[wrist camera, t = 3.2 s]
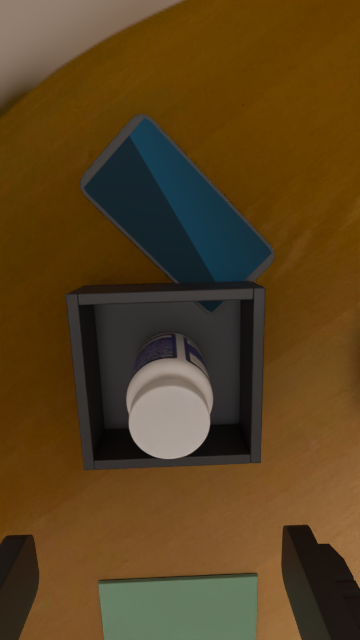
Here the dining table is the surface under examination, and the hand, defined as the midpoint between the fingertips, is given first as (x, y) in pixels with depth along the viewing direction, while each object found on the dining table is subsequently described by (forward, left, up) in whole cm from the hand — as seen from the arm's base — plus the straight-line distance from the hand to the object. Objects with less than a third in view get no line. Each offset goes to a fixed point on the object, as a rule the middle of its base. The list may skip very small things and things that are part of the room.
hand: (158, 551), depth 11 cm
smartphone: (+1, +11, -19) cm, 22 cm away
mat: (0, -29, -19) cm, 35 cm away
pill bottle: (0, 0, -19) cm, 19 cm away
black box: (0, 0, -19) cm, 19 cm away
